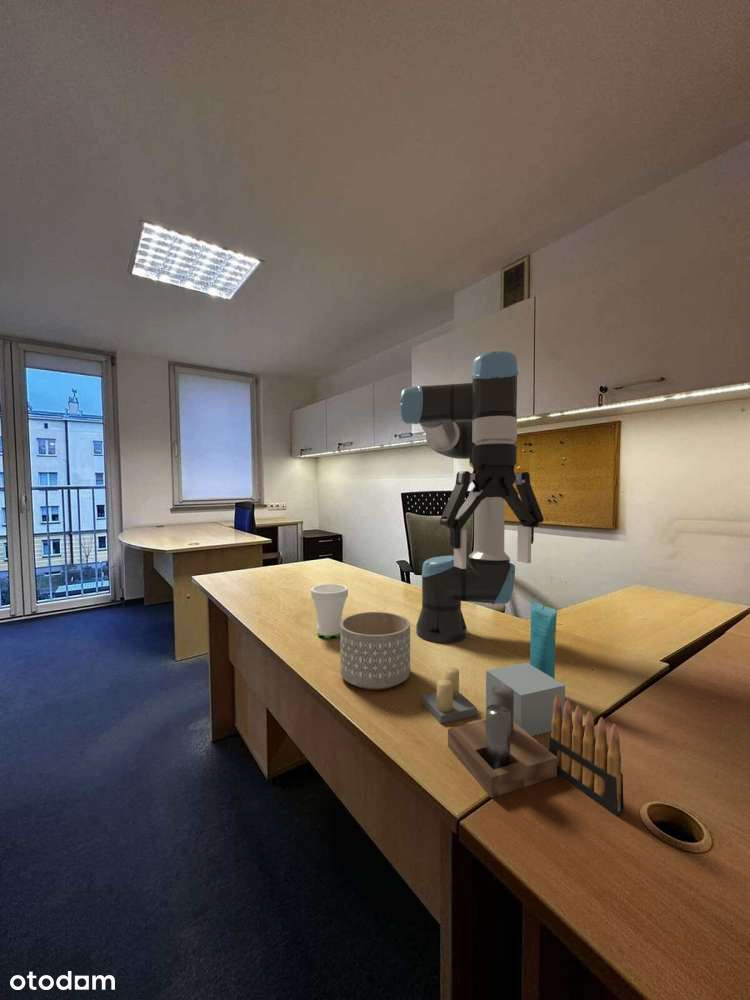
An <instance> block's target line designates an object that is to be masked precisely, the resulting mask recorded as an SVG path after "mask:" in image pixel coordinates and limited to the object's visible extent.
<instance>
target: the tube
mask: <svg viewBox="0 0 750 1000" xmlns="http://www.w3.org/2000/svg"><path fill="white" fill-rule="evenodd" d="M557 613H558V610H557V609H554V608H551V607H549V606H546V605H543V604H541V603H538V602H536V601H533V600H530V642H529V643H530V644H529V645H530V649H529V650H530V655H529V656H530V658H529V659H530V661H529V662H530V663H529V664H530V665H532V666H533V667H535V668H537V669H538V670H540V671H542V672H543V673H545V674H547V675H549V676H550V677H552V678H554V679H555V680H556V678H555V677H556V674H555V673H556V638H557V635H556V634H557V631H556V630H557V615H558V614H557Z"/></svg>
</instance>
